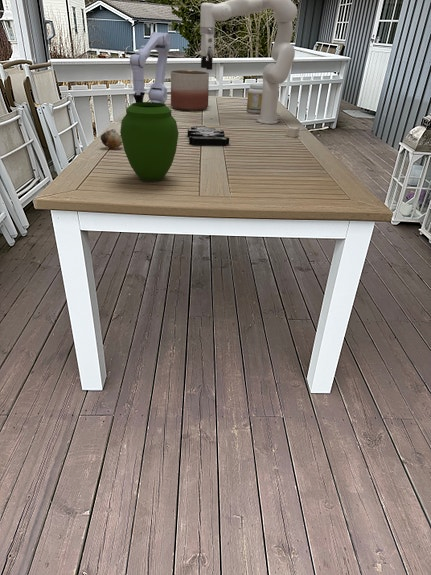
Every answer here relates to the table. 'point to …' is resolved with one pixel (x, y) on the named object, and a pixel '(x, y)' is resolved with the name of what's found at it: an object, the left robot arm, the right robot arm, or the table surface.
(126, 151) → the vase
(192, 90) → the planter
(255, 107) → the supplement tub
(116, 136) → the seashell
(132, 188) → the table surface
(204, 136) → the sign
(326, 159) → the table surface
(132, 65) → the left robot arm
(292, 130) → the grey square block
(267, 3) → the right robot arm
